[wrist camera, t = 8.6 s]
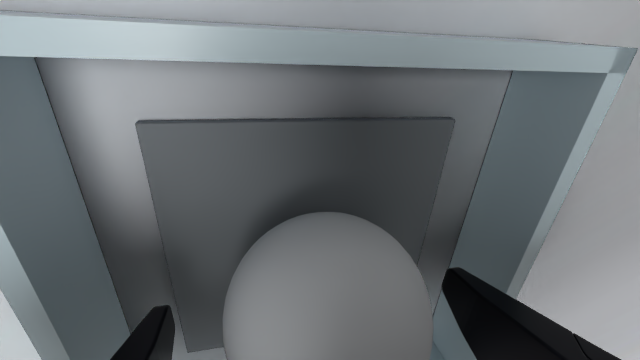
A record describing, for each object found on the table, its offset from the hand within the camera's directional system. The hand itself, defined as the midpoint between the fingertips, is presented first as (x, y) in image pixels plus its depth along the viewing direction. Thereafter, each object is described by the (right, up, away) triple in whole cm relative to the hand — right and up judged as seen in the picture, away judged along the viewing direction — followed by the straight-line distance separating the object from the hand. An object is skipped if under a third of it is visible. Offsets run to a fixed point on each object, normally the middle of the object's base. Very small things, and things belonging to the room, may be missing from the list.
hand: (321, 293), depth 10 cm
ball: (0, +1, +2) cm, 2 cm away
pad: (-1, +1, +2) cm, 3 cm away
